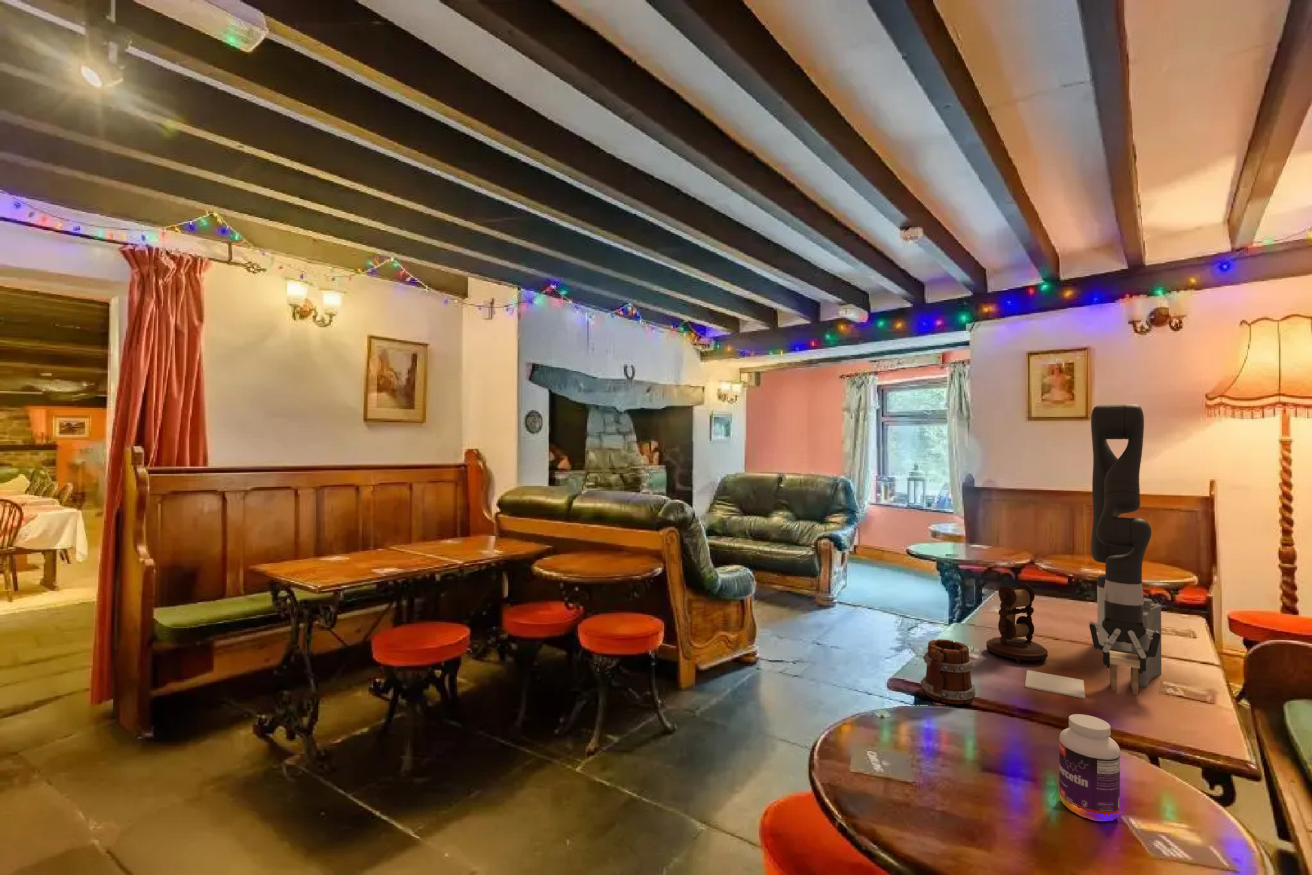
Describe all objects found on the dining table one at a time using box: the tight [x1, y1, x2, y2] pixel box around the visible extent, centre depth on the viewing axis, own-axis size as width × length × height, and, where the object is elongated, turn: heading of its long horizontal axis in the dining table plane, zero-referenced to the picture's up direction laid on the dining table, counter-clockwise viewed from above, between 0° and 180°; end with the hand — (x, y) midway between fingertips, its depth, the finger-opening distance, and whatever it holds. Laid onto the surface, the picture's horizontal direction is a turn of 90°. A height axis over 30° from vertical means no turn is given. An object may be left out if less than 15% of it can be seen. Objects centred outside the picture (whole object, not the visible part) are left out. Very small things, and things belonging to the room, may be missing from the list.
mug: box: [920, 638, 977, 705], centre depth 142 cm, size 12×14×15 cm
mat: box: [1024, 669, 1086, 700], centre depth 149 cm, size 12×12×1 cm
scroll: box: [985, 582, 1049, 665], centre depth 169 cm, size 15×15×20 cm
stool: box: [1109, 650, 1140, 696], centre depth 147 cm, size 6×6×8 cm
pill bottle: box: [1058, 713, 1121, 815], centre depth 98 cm, size 8×8×14 cm
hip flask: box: [1130, 597, 1162, 688], centre depth 154 cm, size 16×4×20 cm, turn 129°
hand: (1123, 669), depth 147 cm, fingers closed on stool, 5 cm apart
